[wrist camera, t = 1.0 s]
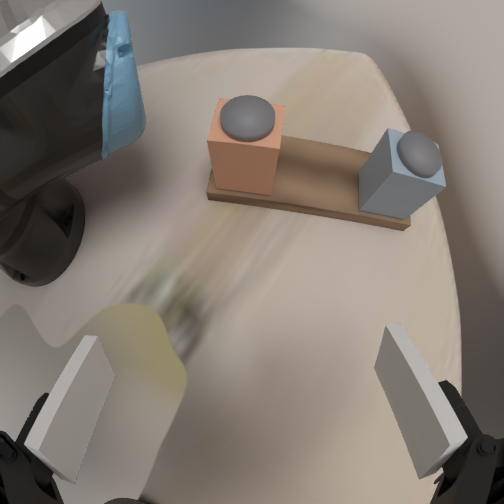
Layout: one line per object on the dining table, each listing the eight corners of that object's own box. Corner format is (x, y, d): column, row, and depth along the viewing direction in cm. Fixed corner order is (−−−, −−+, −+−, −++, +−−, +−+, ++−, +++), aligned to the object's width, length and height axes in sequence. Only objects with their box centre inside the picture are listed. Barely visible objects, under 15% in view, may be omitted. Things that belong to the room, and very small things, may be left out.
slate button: (404, 219, 32) (451, 182, 22) (358, 210, 32) (397, 166, 22) (401, 182, 33) (442, 139, 23) (358, 172, 33) (391, 122, 23)
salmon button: (270, 195, 32) (281, 141, 22) (216, 188, 32) (205, 133, 22) (275, 157, 33) (286, 98, 23) (224, 150, 33) (218, 91, 23)
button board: (403, 230, 34) (410, 225, 32) (208, 199, 34) (206, 192, 32) (399, 169, 36) (405, 162, 34) (222, 137, 36) (221, 128, 34)
